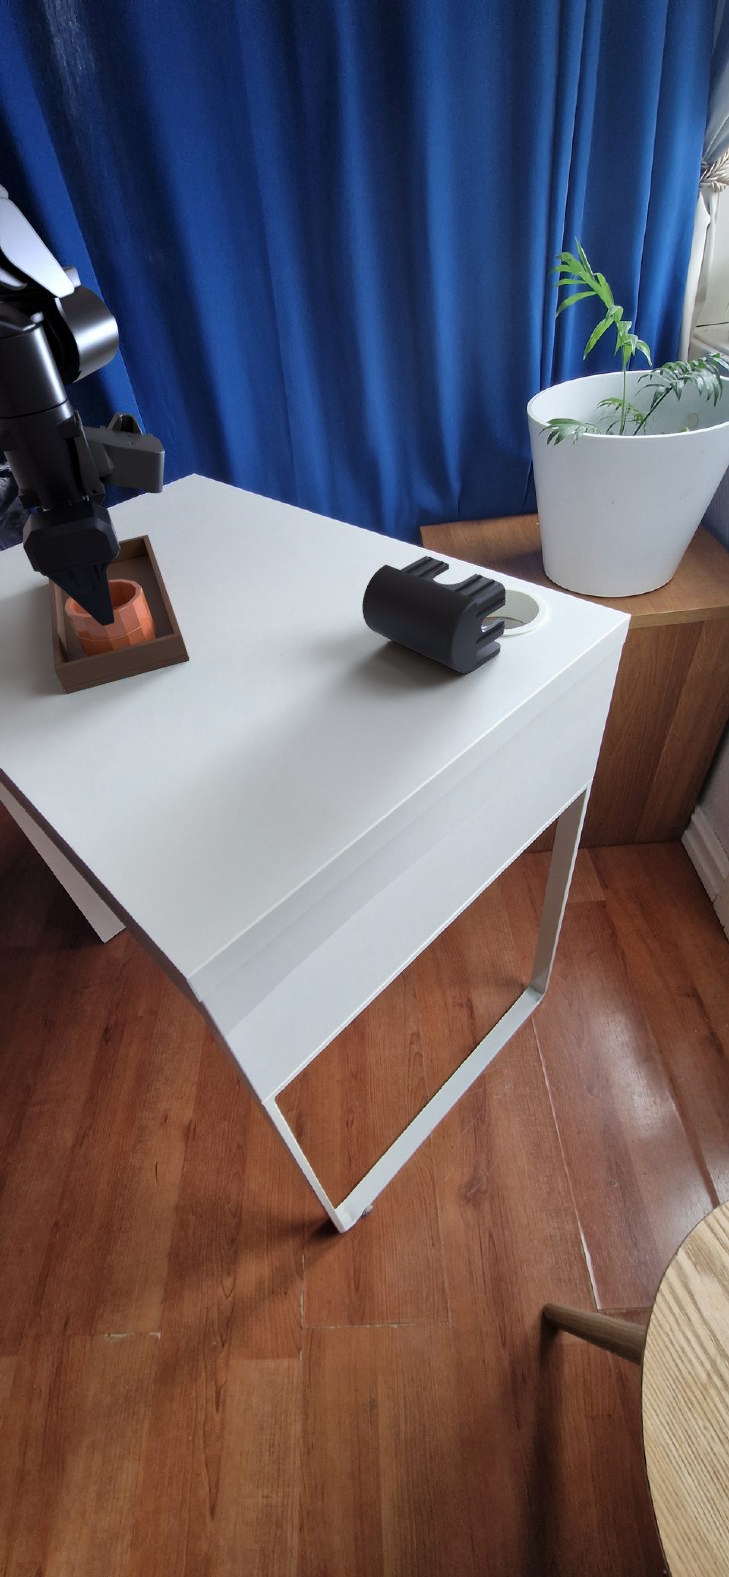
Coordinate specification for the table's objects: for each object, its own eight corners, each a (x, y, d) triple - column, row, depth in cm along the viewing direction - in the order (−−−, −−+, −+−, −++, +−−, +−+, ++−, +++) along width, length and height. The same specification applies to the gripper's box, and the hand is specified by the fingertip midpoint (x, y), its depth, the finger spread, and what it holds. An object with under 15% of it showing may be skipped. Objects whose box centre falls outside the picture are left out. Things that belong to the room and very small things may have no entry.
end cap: (365, 649, 62) (356, 578, 57) (421, 616, 65) (417, 545, 60) (450, 692, 56) (449, 616, 51) (507, 653, 59) (511, 578, 54)
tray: (189, 660, 63) (181, 634, 61) (65, 694, 61) (53, 669, 59) (154, 556, 80) (147, 534, 78) (56, 580, 78) (47, 558, 76)
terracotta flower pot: (102, 675, 62) (80, 625, 58) (76, 646, 66) (54, 598, 62) (170, 646, 64) (153, 596, 61) (140, 619, 68) (123, 571, 65)
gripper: (154, 415, 46) (213, 624, 57) (125, 359, 59) (177, 538, 70) (-22, 452, 44) (74, 662, 55) (-12, 386, 57) (64, 566, 68)
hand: (104, 599), depth 62 cm, fingers open, 9 cm apart
